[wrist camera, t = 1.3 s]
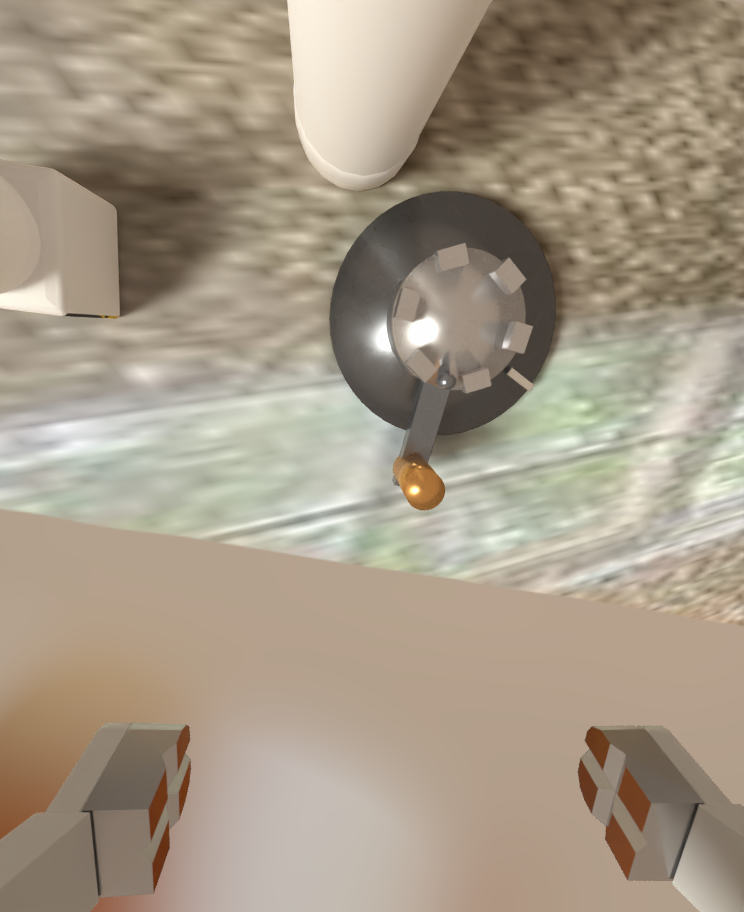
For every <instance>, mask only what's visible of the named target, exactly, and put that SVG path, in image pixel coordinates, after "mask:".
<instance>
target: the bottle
mask: <svg viewBox="0 0 744 912" xmlns="http://www.w3.org/2000/svg"><path fill="white" fill-rule="evenodd" d="M287 2H288V14H289V26H290V37H291V49H292V61H293V73H294V104H295V118H296V126H297V129H298V132H299V138H300V140H301V143H302V145H303V148H304V151H305V153H306V156H307V158H308V160H309V161H310V162H311V163H312V165H313V166H314V167H315V168H316V170H317V171H318V172H319V174H320V175H321V176H322V177H324V178H325V179H327V180H328V181H330V182H332V183H333V184H335V185H336V186H338V187H339V188H344V189H349V190H354V191H364V190H369V189H374V188H378V187H380V186H381V185H383V184H384V183H386V182H387V181H388V180H390V179H391V178H393V177H394V176H395V175H396V174H397V172H398V171H399V170H400V168H401V167H402V166H403V164H404V163H405V161H406V160H407V158H408V157H409V156H410V154H411V153H412V151H413V150H414V148H415V147H416V144H417V142H418V139H419V135H420V134H421V132H422V130H423V128H424V126H425V124H426V122H427V121H428V119H429V117H430V115H431V113H432V111H433V109H434V108H435V106H436V104H437V102H438V100H439V98H440V96H441V95H442V93H443V91H444V89H445V87H446V85H447V83H448V82H449V80H450V78H451V76H452V74H453V72H454V71H455V69H456V67H457V65H458V63H459V61H460V59H461V58H462V56H463V54H464V52H465V50H466V48H467V46H468V45H469V43H470V41H471V39H472V37H473V35H474V33H475V32H476V30H477V28H478V26H479V24H480V22H481V20H482V19H483V17H484V15H485V13H486V11H487V9H488V7H489V6H490V4H491V2H492V0H287Z"/></svg>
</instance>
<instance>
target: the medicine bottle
mask: <svg viewBox="0 0 744 912" xmlns="http://www.w3.org/2000/svg"><path fill="white" fill-rule="evenodd" d="M0 308H3V309H11V310H19V311H27V312H35V313H43V314H51V315H58V316H74V317H93V318H113V319H114V318H118V317H119V315H120V299H119V267H118V234H117V211H116V208H115V207H114V206H113V205H112V204H110V203H109V202H107V201H106V200H104V199H102V198H101V197H99V196H97V195H96V194H94V193H92V192H91V191H89V190H88V189H86V188H84V187H83V186H81V185H79V184H78V183H76V182H74V181H73V180H71V179H70V178H68V177H66V176H65V175H63V174H61V173H60V172H58V171H56V170H54V169H52V168H47V167H41V166H35V165H30V164H24V163H18V162H13V161H7V160H1V159H0Z"/></svg>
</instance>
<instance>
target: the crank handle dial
mask: <svg viewBox="0 0 744 912" xmlns="http://www.w3.org/2000/svg"><path fill="white" fill-rule="evenodd" d="M525 280H526V278H525V277H524V276H523V274H522V273H521V272H520V271H519V269H518V268H517V267H516V265H515V264H514V263H513V262H512V260H511V259H510V258H509V257H508V258H505V259H503V260H499V259H498V258H497V257H495V256H493V255H492V254H490V253H487V252H485V251H483V250H479V249H475V248H466V243H463V244H459V245H456V246H452V247H449V248H445V249H442V250H438V251H436V252H435V253H433V256H431V257H429V258H428V259H426V260H424V261H423V262H421V263H420V264H418V265H417V266H415V267H414V268H412V269H411V270H410V271H409V272H408V273H407V274H406V275H405V276H404V277H403V278H402V280H401V281H400V282H399V284H398V285H397V287H396V289H395V290H394V293H393V295H392V297H391V300H390V303H389V306H388V311H387V321H386V326H387V335H388V340H389V343H390V346H391V349H392V351H393V353H394V355H395V357H396V358H397V360H398V362H399V363H400V364H401V365H402V366H403V368H404V369H406V370H407V371H408V372H409V373H410V374H412V375H413V376H414V377H416V378H418V379H420V380H421V381H420V385H419V388H418V392H417V395H416V399H415V402H414V406H413V409H412V413H411V416H410V420H409V423H408V427H407V430H406V434H405V437H404V441H403V444H402V448H401V451H400V455H399V457H398V458H397V459H396V460H395V462H394V465H393V473H394V476H393V479H392V481H393V483H394V485H398V486H400V487H401V489H402V491H403V493H404V494H405V496H406V498H407V500H408V502H409V503H410V504H411V506H413V507H414V508H416V509H419V510H429V509H432V508H434V507H436V506H437V505H438V504H439V503H440V502H441V501H442V499H443V497H444V494H445V486H444V483H443V481H442V480H441V478H440V477H439V476H438V475H437V474H436V472H435V471H434V470H433V469H432V468H431V467H430V465H429V464H428V461H429V457H430V454H431V451H432V447H433V444H434V441H435V438H436V434H437V431H438V428H439V424H440V421H441V418H442V415H443V411H444V408H445V405H446V401H447V398H448V395H449V392H450V390H461V391H462V392H464V393H469V392H473V391H476V390H479V389H483V388H486V387H489V386H491V379H492V378H494V377H495V376H497V375H498V374H499V373H500V372H501V371H502V370H503V369H504V368H505V367H506V366H507V365H508V364H509V362H510V361H511V359H512V358H513V357H514V355H515V353H522V354H524V352H525V349H526V346H527V343H528V340H529V337H530V334H531V331H532V328H533V326H530V325H527V324H525V316H526V311H525V302H524V297H523V293H522V290H521V288H520V285H521V284H522V283H523V282H524V281H525Z"/></svg>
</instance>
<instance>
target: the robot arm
mask: <svg viewBox="0 0 744 912" xmlns="http://www.w3.org/2000/svg"><path fill="white" fill-rule="evenodd" d="M189 742H190V730H189V726H188V725H182V724H181V725H180V724H151V723H105V724H104V725H103V726H102V727H101V728H100V729H99V730H98V731H97V732H96V734H95V735H94V737H93V738H92V740H91V742H90V743H89V745H88V746H87V748H86V749H85V751H84V752H83V754H82V756H81V757H80V759H79V760H78V762H77V763H76V765H75V767H74V768H73V770H72V771H71V773H70V774H69V776H68V778H67V779H66V781H65V782H64V784H63V785H62V787H61V788H60V790H59V791H58V793H57V795H56V796H55V798H54V799H53V801H52V803H51V804H50V806H49V807H48V809H47V810H46V812H45V813H35V814H34V815H32V816H31V817H29V818H28V819H27V820H26V821H24V822H23V823H22V824H20V825H19V826H18V827H16V828H15V829H14V830H12V831H11V832H10V833H8V834H7V835H6V836H5V837H3V838H2V839H0V912H90V911H91V910H92V909H93V908H94V906H95V905H96V904H97V903H98V902H99V897H111V896H112V897H113V896H127V895H144V894H154V892H155V888H156V886H157V883H158V880H159V877H160V874H161V872H162V869H163V866H164V863H165V860H166V857H167V854H168V851H169V849H170V838H169V830H170V828H172V826H174V825H175V823H177V822H178V820H179V819H180V816H181V813H182V810H183V807H184V804H185V801H186V796H187V792H188V787H189V782H190V773H191V759H190V757H189V756H188V755H187V754H186V753H185V752H186V750H187V747H188V744H189ZM585 742H586V744H587V745H588V747H589V750H588V751H587V752H586V753H585V754H584V755H583V756H582V757H581V758H580V763H579V768H578V776H579V784H580V789H581V792H582V795H583V798H584V800H585V802H586V804H587V806H588V808H589V810H590V812H591V814H592V815H594V816H595V817H596V818H597V819H598V820H599V821H600V822H602V823H603V824H604V825H605V826H606V834H605V840H606V842H607V844H608V845H609V847H610V849H611V851H612V853H613V854H614V856H615V858H616V860H617V862H618V864H619V866H620V867H621V869H622V871H623V873H624V875H625V877H626V878H627V880H637V881H638V880H639V881H642V880H643V881H647V880H648V881H673V883H672V884H673V885H674V886H675V887H676V888H677V889H678V890H679V891H680V892H681V893H682V894H683V895H684V896H685V897H686V898H687V899H688V900H689V901H690V902H691V903H692V904H693V905H694V906H695V907H696V908H697V909H698V910H699V911H700V912H744V807H743V806H742V805H740V804H732V803H731V802H730V801H729V799H728V798H727V797H726V796H725V795H724V794H723V792H722V791H721V790H720V789H719V788H718V787H717V786H716V784H715V783H714V782H713V781H712V780H711V779H710V777H709V776H708V775H707V774H706V773H705V772H704V770H703V769H702V768H701V767H700V766H699V765H698V763H697V762H696V761H695V760H694V759H693V758H692V756H691V755H690V754H689V753H688V752H687V751H686V750H685V748H684V747H683V746H682V745H681V744H680V743H679V741H678V740H677V739H676V738H675V737H674V736H673V735H672V733H671V732H670V731H669V730H667V729H665V728H664V727H663V726H592V727H591V728H590V729H589V730H588V731H587V734H586V738H585Z"/></svg>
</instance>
